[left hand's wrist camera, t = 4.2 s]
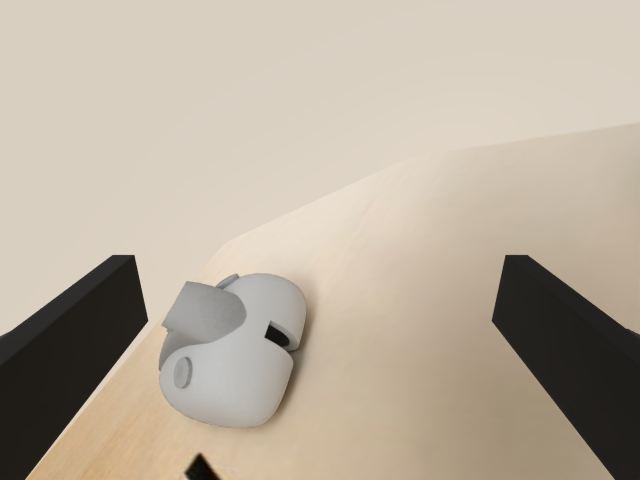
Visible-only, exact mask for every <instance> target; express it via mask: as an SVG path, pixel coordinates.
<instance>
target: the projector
mask: <svg viewBox="0 0 640 480" xmlns="http://www.w3.org/2000/svg"><path fill="white" fill-rule="evenodd" d="M306 311H307V305H306V299H305V296H304V294H303V292H302V291H301V290H300V288H299V287H298V286H296V285H295V284H294V283H293V282H291V281H289V280H287V279H285V278H282V277H279V276H276V275H271V274H250V275H245V276H242V277H239V276H238V274H233V275H231V276H229V277H227V278H226V279H224V280H222V281H221V282H220V283H219V284H218V285H217V286H216V287H213V286H210V285H205V284H201V283H195V282H188V281H187V282H186V283H185V285H184V287H183V289H182V290H181V292H180V294H179V295H178V297H177V299H176V300H175V302H174V304H173V306H172V307H171V309H170V311H169V313H168V314H167V316H166V318H165V320H164V321H163V323H162V326H164V327H165V328H167V332H168V334H167V336H166V338H165V341H164V344H163V347H162V350H161V354H160V359H159V371H161V372H160V377H159V385H160V388H161V391H162V393H163V395H164V397H165V398H166V400H167V401H168V402H169V404H170V405H171V406H172V407H173V408H175V409H176V410H177V411H179V412H180V413H182V414H183V415H185V416H187V417H189V418H192V419H195V420H197V421H200V422H204V423H208V424H212V425H217V426H222V427H230V428H252V427H257V426H260V425H262V424H264V423H265V422H267V421H268V420H269V419H270V418H271V417H272V416H273V414H274V413H275V411H276V410H277V408H278V406H279V404H280V402H281V400H282V397H283V395H284V392H285V390H286V387H287V384H288V381H289V378H290V374H291V371H292V368H293V360H292V358H291V356H290V355H289V354H288V353H287V352H286V351H292V350H296V349H297V348H298V347H299V344H300V340H301V337H302V333H303V329H304V324H305V319H306Z"/></svg>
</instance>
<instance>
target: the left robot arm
mask: <svg viewBox="0 0 640 480" xmlns="http://www.w3.org/2000/svg"><path fill="white" fill-rule="evenodd" d="M147 322H148V317H147V312H146V308H145V303H144V298H143V294H142V289H141V284H140V279H139V275H138V270H137V265H136V261H135V256H134V255H112V256H111V257H109V258H108V259H107V260H106V261H104V262H103V263H101V264H100V265H99V266H97V267H96V268H95V269H93V270H92V271H91V272H89V273H88V274H87V275H85V276H84V277H83V278H81V279H80V280H79V281H77V282H76V283H75V284H73V285H72V286H71V287H69V288H68V289H67V290H65V291H64V292H63V293H61V294H60V295H59V296H57V297H56V298H55V299H53V300H52V301H51V302H49V303H48V304H47V305H45V306H44V307H43V308H41V309H40V310H39V311H37V312H36V313H35V314H33V315H32V316H31V317H29V318H28V319H27V320H25V321H24V322H22V323H21V324H20V325H18V326H17V327H16V328H14V329H13V330H12V331H10V332H8V333H6V334H4V335H2V336H0V480H25V479H26V478H27V476H28V475H29V474H30V473H31V471H32V470H33V469H34V467H35V466H36V465H37V464H38V462H39V461H40V460H41V458H42V457H43V456H44V455H45V453H46V452H47V451H48V449H49V448H50V447H51V446H52V444H53V443H54V442H55V440H56V439H57V438H58V437H59V435H60V434H61V433H62V431H63V430H64V429H65V428H66V426H67V425H68V424H69V422H70V421H71V420H72V419H73V417H74V416H75V415H76V413H77V412H78V411H79V410H80V408H81V407H82V406H83V404H84V403H85V402H86V400H87V399H88V398H89V397H90V395H91V394H92V393H93V391H94V390H95V389H96V388H97V386H98V385H99V384H100V382H101V381H102V380H103V379H104V377H105V376H106V375H107V373H108V372H109V371H110V370H111V368H112V367H113V366H114V364H115V363H116V362H117V361H118V359H119V358H120V357H121V355H122V354H123V353H124V352H125V350H126V349H127V348H128V346H129V345H130V344H131V343H132V341H133V340H134V339H135V337H136V336H137V335H138V334H139V332H140V331H141V330H142V328H143V327H144V326H145V325H146V323H147ZM492 322H493V323H494V325H495V326H496V327H497V328H498V330H499V331H500V332H501V334H502V335H503V336H504V337H505V339H506V340H507V341H508V343H509V344H510V345H511V346H512V348H513V349H514V350H515V352H516V353H517V354H518V355H519V357H520V358H521V359H522V361H523V362H524V363H525V364H526V366H527V367H528V368H529V370H530V371H531V372H532V373H533V375H534V376H535V377H536V379H537V380H538V381H539V383H540V384H541V385H542V386H543V388H544V389H545V390H546V392H547V393H548V394H549V395H550V397H551V398H552V399H553V401H554V402H555V403H556V404H557V406H558V407H559V408H560V410H561V411H562V412H563V413H564V415H565V416H566V417H567V419H568V420H569V421H570V422H571V424H572V425H573V426H574V428H575V429H576V430H577V431H578V433H579V434H580V435H581V437H582V438H583V439H584V440H585V442H586V443H587V444H588V446H589V447H590V448H591V449H592V451H593V452H594V453H595V455H596V456H597V457H598V458H599V460H600V461H601V462H602V464H603V465H604V466H605V467H606V469H607V470H608V471H609V473H610V474H611V475H612V476H613V478H614V479H615V480H640V335H639V334H637V333H635V332H633V331H631V330H629V329H626V328H624V327H623V326H622V325H620V324H619V323H618V322H616V321H615V320H614V319H612V318H611V317H609V316H608V315H607V314H605V313H604V312H603V311H601V310H600V309H599V308H597V307H596V306H595V305H593V304H592V303H591V302H589V301H588V300H587V299H585V298H584V297H583V296H581V295H580V294H579V293H577V292H576V291H575V290H573V289H572V288H571V287H569V286H568V285H567V284H565V283H564V282H563V281H561V280H560V279H559V278H557V277H556V276H555V275H553V274H552V273H551V272H549V271H548V270H547V269H545V268H544V267H543V266H541V265H540V264H539V263H537V262H536V261H535V260H533V259H532V258H531V257H529V256H528V255H506V256H505V260H504V265H503V270H502V275H501V279H500V284H499V289H498V294H497V298H496V303H495V308H494V312H493V317H492Z"/></svg>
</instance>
